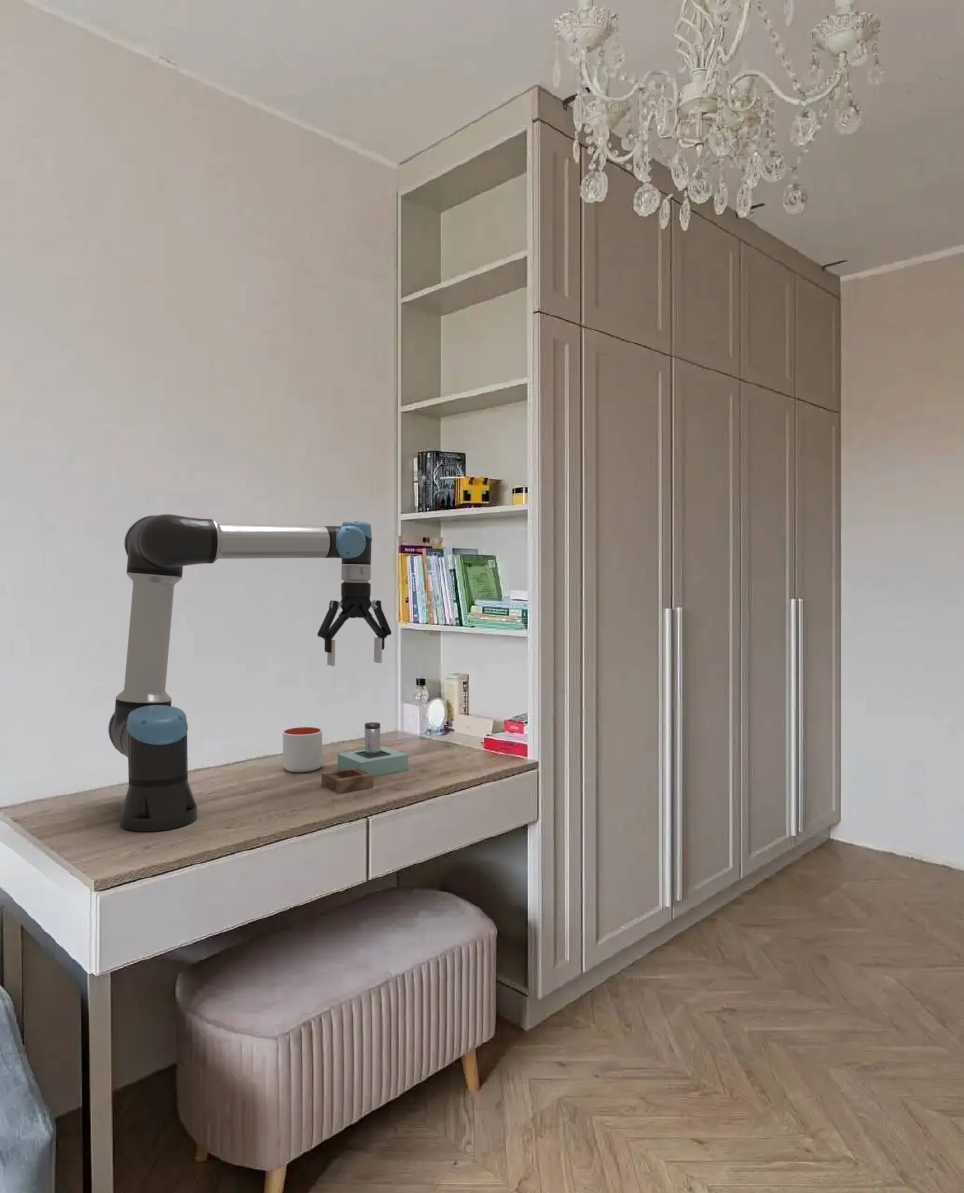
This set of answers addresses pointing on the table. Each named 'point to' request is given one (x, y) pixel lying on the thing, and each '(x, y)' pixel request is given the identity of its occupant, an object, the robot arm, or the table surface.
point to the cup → (302, 749)
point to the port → (374, 761)
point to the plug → (372, 739)
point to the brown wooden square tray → (347, 780)
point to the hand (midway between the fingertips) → (354, 664)
